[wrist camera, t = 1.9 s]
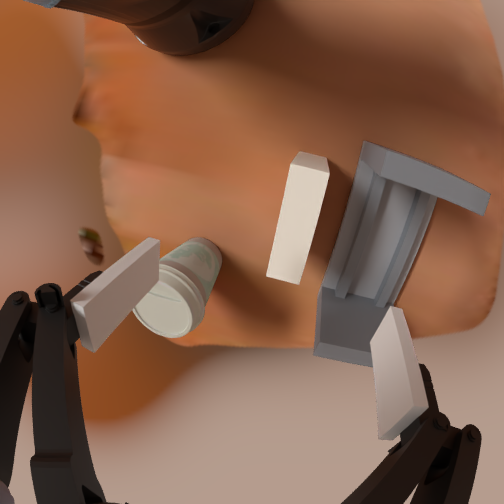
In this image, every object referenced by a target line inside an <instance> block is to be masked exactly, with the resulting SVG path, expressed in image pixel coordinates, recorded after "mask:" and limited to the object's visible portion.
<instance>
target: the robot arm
mask: <svg viewBox="0 0 504 504" xmlns="http://www.w3.org/2000/svg"><path fill="white" fill-rule="evenodd" d="M24 1H27V2H31V3H34V4H38V5H41V6H44V7H46V8H51V7H52V8H53V7H57V8H62V9H67V10H72V11H77V12H82V13H86V14H90V15H94V16H98V17H102V18H105V19H109V20H112V21H116V22H119V23H122V24H125V25H126V26H127V27H128V28H129V29H130V30H131V31H132V32H133V33H134V35H135V36H136V37H137V39H138V40H139V41H140V42H141V43H143V44H144V45H145V46H147V47H149V48H151V49H153V50H156V51H159V52H162V53H165V54H170V55H190V54H195V53H199V52H203V51H205V50H208V49H210V48H212V47H214V46H216V45H218V44H220V43H222V42H223V41H225V40H226V39H228V38H229V37H230V36H231V35H233V34H234V33H235V32H236V31H237V30H238V29H239V28H240V27H241V25H242V24H243V23H244V22H245V20H246V19H247V17H248V15H249V14H250V11H251V9H252V6H253V3H254V0H24ZM159 256H160V240H157V239H154V238H151V237H148V238H147V239H145V240H144V241H143V242H141V243H140V244H139V245H137V246H136V247H135V248H133V249H132V250H131V251H130V252H128V253H127V254H126V255H125V256H123V257H122V258H121V259H120V260H118V261H117V262H116V263H115V264H113V265H112V266H111V267H109V268H108V269H107V270H106V271H105V272H102V271H97V272H94V273H92V274H90V275H89V276H87V277H86V278H85V279H84V280H83V281H81V282H80V283H79V284H78V285H76V286H75V287H74V288H72V289H71V290H70V291H69V292H68V293H67V294H65V295H64V296H62V291H61V288H60V287H59V286H58V285H57V284H54V283H48V284H43V285H42V286H40V287H39V288H37V289H36V291H35V297H36V300H37V303H36V302H31V301H30V299H29V295H28V294H27V293H26V292H24V291H18V292H14V293H12V294H11V295H10V296H9V297H8V298H7V300H6V301H5V303H4V305H3V307H2V309H1V310H0V504H14V498H13V496H12V495H11V493H10V491H9V489H8V486H9V484H10V480H11V476H12V470H13V464H14V455H15V448H16V441H17V435H18V430H19V424H20V419H21V414H22V410H23V405H24V401H25V397H26V393H27V389H28V386H29V382H30V378H31V375H32V417H33V434H34V445H35V455H34V456H32V457H31V460H30V467H31V474H32V480H33V485H34V491H35V496H36V500H37V504H118V503H108V502H106V499H105V496H104V493H103V490H102V488H101V486H100V484H99V481H98V480H97V477H96V474H95V471H94V467H93V463H92V459H91V455H90V451H89V446H88V441H87V435H86V430H85V425H84V418H83V412H82V405H81V397H80V389H79V378H78V366H77V350H76V349H77V348H76V344H75V342H76V341H77V340H78V339H79V338H80V340H81V344H82V346H83V347H85V348H87V349H88V350H90V351H92V352H95V351H96V350H97V349H98V348H99V347H100V346H101V344H102V343H103V342H104V341H105V340H106V338H108V336H109V335H110V334H111V333H112V332H113V331H114V330H115V328H116V327H117V326H118V325H119V324H120V323H121V322H122V321H123V319H124V318H125V317H126V316H127V315H128V314H129V313H130V312H131V311H132V309H133V308H134V307H135V306H136V305H137V304H138V303H139V302H140V301H141V300H142V298H143V297H144V296H145V295H146V294H147V293H148V292H149V291H150V290H151V289H152V288H153V287H154V286H155V284H156V283H157V282H158V281H159ZM370 346H371V354H372V362H373V370H374V380H375V390H376V402H377V416H378V417H377V418H378V439H381V440H394V439H395V438H396V437H397V436H398V435H399V434H400V438H401V441H400V442H399V443H397V444H396V445H395V446H394V447H392V448H391V449H390V450H389V451H388V452H390V453H389V454H388V455H387V456H386V458H385V459H384V460H383V461H382V462H381V463H380V464H379V466H378V467H377V468H376V469H375V470H374V471H373V472H372V473H371V474H370V476H368V478H367V479H366V480H365V481H364V482H363V483H362V484H361V485H360V486H359V487H358V488H357V489H356V490H355V491H354V492H353V493H352V494H351V495H350V496H348V497H347V498H346V499H345V500H344V501H343V502H342V503H341V504H403V503H404V502H405V500H406V499H407V498H408V497H409V495H410V494H411V493H412V491H413V490H414V488H415V487H416V486H417V484H418V486H417V488H416V491H415V493H414V496H413V498H412V500H411V502H410V504H468V502H469V499H470V495H471V491H472V487H473V483H474V479H475V474H476V470H477V465H478V459H479V453H480V447H481V433H480V431H479V429H478V428H477V427H476V426H474V425H472V424H469V425H466V426H465V427H464V428H463V429H462V430H461V429H458V428H455V427H453V426H450V421H449V419H448V418H447V417H446V415H445V414H443V413H441V412H439V409H438V404H437V400H436V396H435V392H434V389H433V384H432V382H431V381H432V380H431V376H430V373H429V371H428V369H427V368H426V366H425V365H424V364H419V363H418V360H417V356H416V353H415V349H414V345H413V342H412V339H411V335H410V332H409V329H408V326H407V323H406V319H405V316H404V313H403V310H402V309H401V308H397V307H393V306H390V308H389V309H388V311H387V313H386V315H385V317H384V319H383V320H382V322H381V324H380V326H379V327H378V329H377V331H376V333H375V334H374V336H373V338H372V339H371V341H370ZM125 504H128V503H125Z"/></svg>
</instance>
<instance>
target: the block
mask: <svg viewBox="0 0 504 504" xmlns="http://www.w3.org/2000/svg"><path fill="white" fill-rule="evenodd" d="M329 175H330V172H329V167H328V163H327V158H326V157H322V156H318V155H314V154H310V153H306V152H302V151H299V152H298V154H297V155H296V157H295V158H294V159H293V161H292V162H291V164H290V169H289V174H288V179H287V183H286V188H285V193H284V197H283V202H282V207H281V211H280V216H279V220H278V225H277V229H276V234H275V238H274V243H273V247H272V252H271V256H270V261H269V265H268V269H267V274H266V276H267V277H271V278H275V279H279V280H282V281H286V282H290V283H294V284H298V285H299V283H300V280H301V277H302V273H303V270H304V267H305V263H306V260H307V256H308V253H309V250H310V246H311V243H312V239H313V235H314V232H315V228H316V225H317V221H318V217H319V214H320V210H321V206H322V202H323V198H324V195H325V191H326V187H327V183H328V179H329Z"/></svg>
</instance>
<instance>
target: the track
mask: <svg viewBox="0 0 504 504" xmlns="http://www.w3.org/2000/svg"><path fill="white" fill-rule="evenodd" d="M490 195H491V194H490V193H488V192H486V191H485V190H483V189H481V188H479V187H477V186H476V185H474V184H472V183H470V182H468V181H466V180H464V179H462V178H460V177H458V176H456V175H454V174H452V173H450V172H448V171H446V170H444V169H442V168H439V167H437V166H434V165H432V164H430V163H427V162H425V161H422V160H419V159H417V158H414V157H412V156H409V155H406V154H403V153H401V152H398V151H395V150H392V149H389V148H386V147H383V146H380V145H377V144H374V143H371V142H368V141H365V140H364V141H363V145H362V149H361V153H360V157H359V161H358V165H357V169H356V173H355V177H354V181H353V184H352V188H351V192H350V195H349V199H348V202H347V206H346V209H345V213H344V216H343V219H342V223H341V226H340V229H339V233H338V236H337V239H336V242H335V245H334V248H333V251H332V255H331V258H330V261H329V264H328V267H327V270H326V272H325V275H324V278H323V281H322V284H321V287H320V290H319V292H318V299H317V315H316V329H315V342H314V353H313V355H314V356H318V357H323V358H327V359H332V360H337V361H342V362H347V363H352V364H358V365H363V366H368V367H373V362H372V354H371V346H370V341H371V339H372V338H373V336H374V334H375V333H376V331H377V329H378V327H379V326H380V324H381V322H382V320H383V319H384V317H385V315H386V313H387V311H388V309H389V308H390V306H393V307H394V305H393V303H394V302H395V300H396V298H397V295H398V293H399V291H400V289H401V287H402V285H403V283H404V281H405V279H406V277H407V274H408V272H409V270H410V268H411V266H412V263H413V261H414V259H415V256H416V254H417V252H418V249H419V247H420V244H421V242H422V239H423V237H424V234H425V232H426V229H427V226H428V224H429V221H430V218H431V215H432V213H433V210H434V207H435V204H436V201H437V198H438V197H439V198H442V199H444V200H447V201H449V202H452V203H454V204H457V205H459V206H461V207H464V208H466V209H468V210H470V211H473V212H475V213H477V214H479V215H481V216H484V213H485V210H486V208H487V205H488V202H489V199H490Z"/></svg>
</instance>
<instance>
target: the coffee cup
mask: <svg viewBox="0 0 504 504" xmlns="http://www.w3.org/2000/svg"><path fill="white" fill-rule="evenodd" d="M221 265H222V256H221V253H220V251H219V249H218V248H217V246H216V245H215V244H214V243H212V242H211V241H209V240H207V239H205V238H200V237H196V238H192V239H189V240H188V241H186V242H185V243H183V244H182V245H180V246H179V247H177V248H176V249H174V250H173V251H171V252H170V253H168V254H167V255H165V256H164V257H162V258H161V259H159V281H158V282H157V283H156V284H155V286H154V287H153V288H152V289H151V290H150V291H149V292H148V293H147V294H146V295H145V296H144V297H143V298H142V300H141V301H140V302H139V303H138V304H137V305H136V306H135V307H134V308H133V309H132V310H133V312H134V314H135V315H136V317H137V318H138V319H139V321H140V322H141V323H142V324H143V325H145V326H146V327H147V328H148V329H150V330H151V331H153V332H155V333H156V334H159V335H161V336H164V337H169V338H178V337H182V336H184V335H186V334H187V333H188V332H191V331H192V330H194V329H195V328H196V327H197V326H198V325H199V324H200V323H201V321H202V320H203V317H204V313H205V306H206V303H207V301H208V298H209V296H210V293H211V291H212V288H213V286H214V283H215V281H216V278H217V276H218V273H219V271H220V268H221Z"/></svg>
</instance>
